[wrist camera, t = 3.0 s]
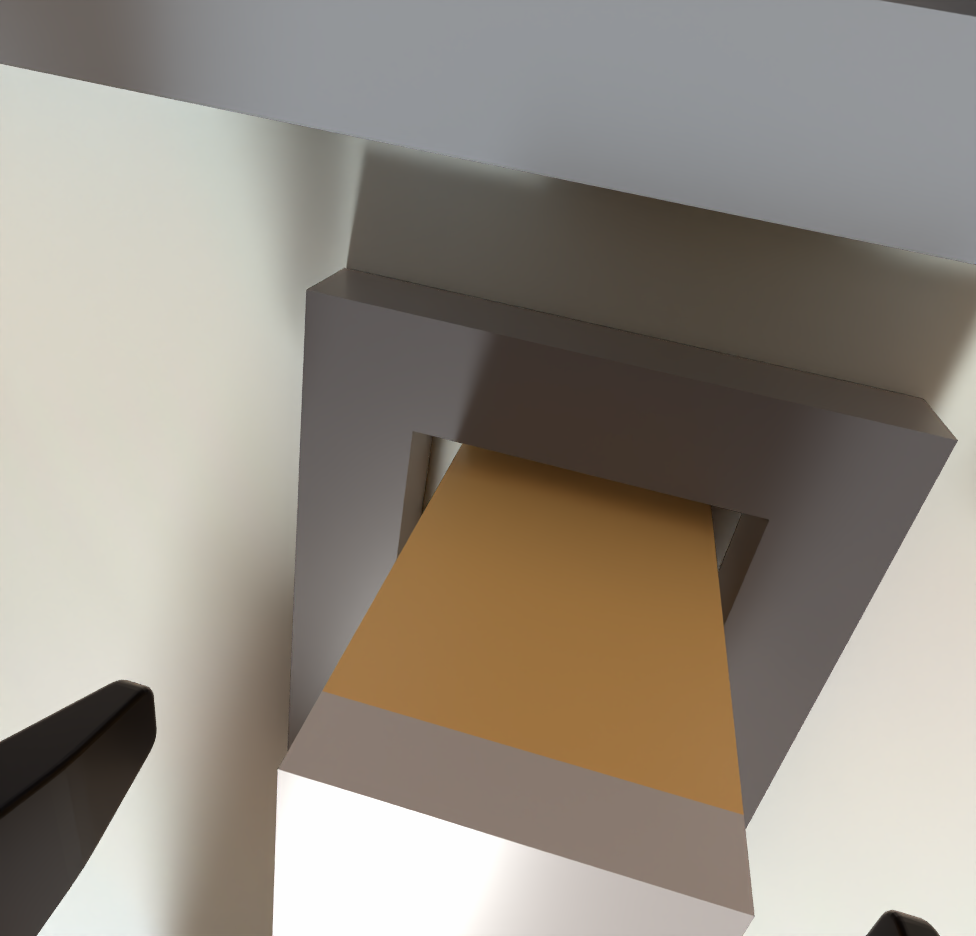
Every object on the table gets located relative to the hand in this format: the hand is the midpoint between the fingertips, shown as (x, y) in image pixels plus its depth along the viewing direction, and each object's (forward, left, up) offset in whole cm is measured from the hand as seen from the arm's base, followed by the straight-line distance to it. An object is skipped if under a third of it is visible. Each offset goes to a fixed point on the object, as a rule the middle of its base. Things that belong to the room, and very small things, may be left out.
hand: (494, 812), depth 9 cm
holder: (0, 0, -4) cm, 4 cm away
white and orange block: (0, 0, -4) cm, 4 cm away
